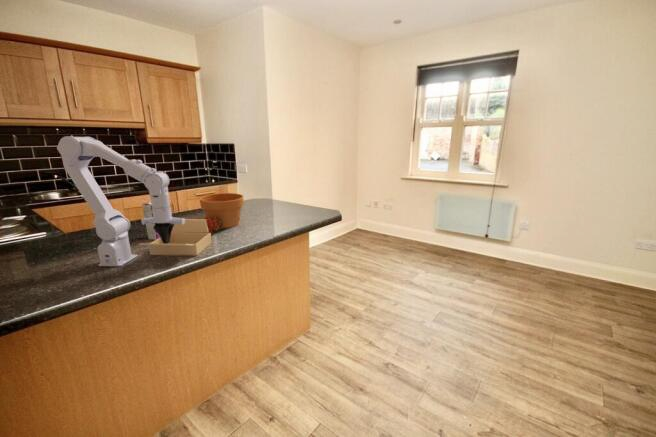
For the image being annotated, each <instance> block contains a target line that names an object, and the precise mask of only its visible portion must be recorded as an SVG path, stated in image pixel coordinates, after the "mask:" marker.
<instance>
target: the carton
mask: <svg viewBox="0 0 656 437" xmlns="http://www.w3.org/2000/svg"><path fill="white" fill-rule="evenodd" d="M150 243H156V244H163V241H162V239H161V237H160V238H158V239H156V240H152V242H150ZM168 244H194V245H148V248H149V254H150V256H187V257H188V256H189V257H190V256H193V257H194V256H195V257H196V256H199V255H200V254H201V253H202V252H203V251H204V250H205V249H207V248H208V246H210V245H211V244H212V235H211V232H209V233H202V232H175V233H171V236H170V242H169V243H168Z"/></svg>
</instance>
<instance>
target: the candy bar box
mask: <svg viewBox="0 0 656 437" xmlns="http://www.w3.org/2000/svg"><path fill="white" fill-rule="evenodd" d="M169 200H170V198H169ZM170 201H171V200H170ZM141 206H142V211H143V218H152V217H153V212H152V205H151V201H148V202H145V203H142V204H141ZM170 207H171V208H172V206H171V205H170ZM171 214H172V211H171ZM172 215H173V214H172ZM154 226H155V224H145V227H146V233H147V237H148V238H147V239H148V240H151V241H155V240H156V239H158V238H160V236H159V234H158V233H157V232H156V230H155V229H154V228H153V227H154ZM171 233H176V232H171Z"/></svg>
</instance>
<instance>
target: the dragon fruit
mask: <svg viewBox="0 0 656 437" xmlns="http://www.w3.org/2000/svg"><path fill="white" fill-rule="evenodd" d="M204 219H206V223H207V227H208V231H209V232H201V233H211V234H213V233H216V232H218V230H219V229H221V226H222V220H221V219H219V218H218V217H215V218H214V217H213V216H211V217H209V218H208V217H206V216H205V217H204ZM221 230H222V229H221Z"/></svg>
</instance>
